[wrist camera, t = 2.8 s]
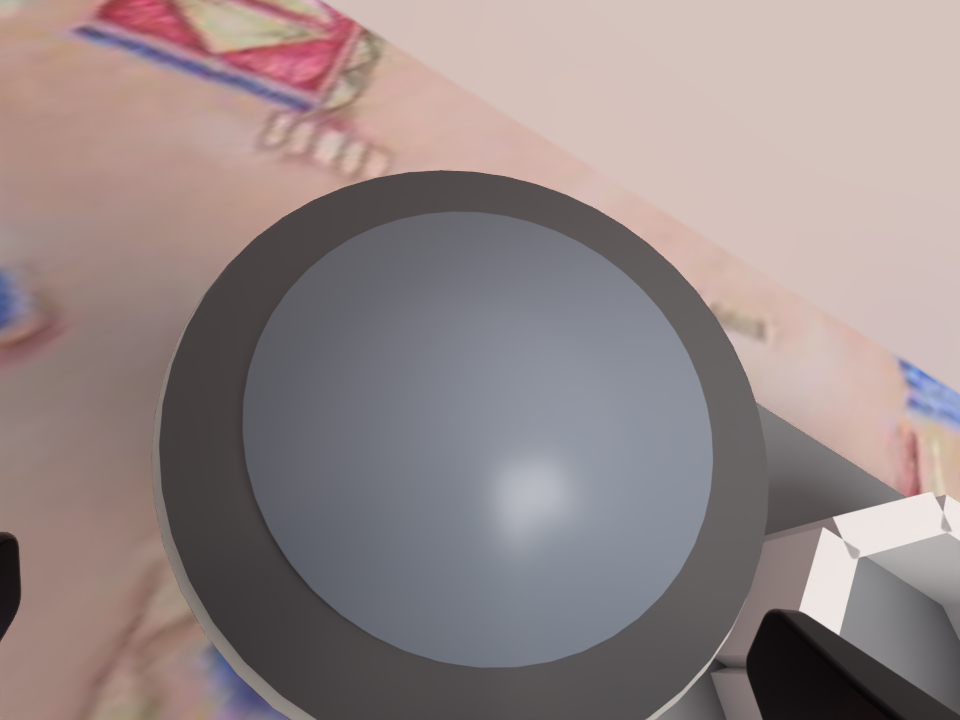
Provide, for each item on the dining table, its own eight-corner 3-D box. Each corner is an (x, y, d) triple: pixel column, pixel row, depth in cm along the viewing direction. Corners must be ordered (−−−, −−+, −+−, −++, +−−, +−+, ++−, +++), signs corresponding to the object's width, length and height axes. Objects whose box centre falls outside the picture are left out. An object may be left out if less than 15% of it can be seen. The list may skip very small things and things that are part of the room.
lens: (530, 603, 16) (898, 510, 6) (347, 740, 14) (370, 1020, 3) (424, 434, 18) (555, 98, 7) (243, 536, 15) (27, 279, 5)
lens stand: (1056, 615, 19) (1216, 607, 16) (1020, 1106, 14) (1255, 1263, 10) (728, 407, 20) (811, 355, 17) (568, 791, 15) (641, 837, 11)
